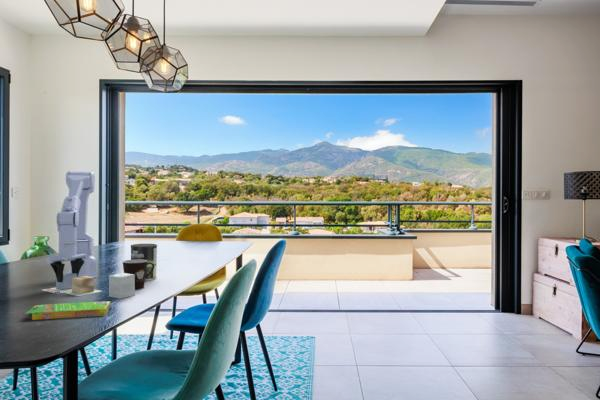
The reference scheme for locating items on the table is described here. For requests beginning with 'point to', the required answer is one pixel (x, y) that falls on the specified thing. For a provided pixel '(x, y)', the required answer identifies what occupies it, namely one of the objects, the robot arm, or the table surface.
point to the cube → (66, 281)
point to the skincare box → (121, 285)
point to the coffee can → (146, 257)
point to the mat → (83, 293)
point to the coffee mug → (137, 271)
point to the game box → (69, 310)
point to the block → (82, 284)
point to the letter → (57, 290)
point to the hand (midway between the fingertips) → (67, 280)
